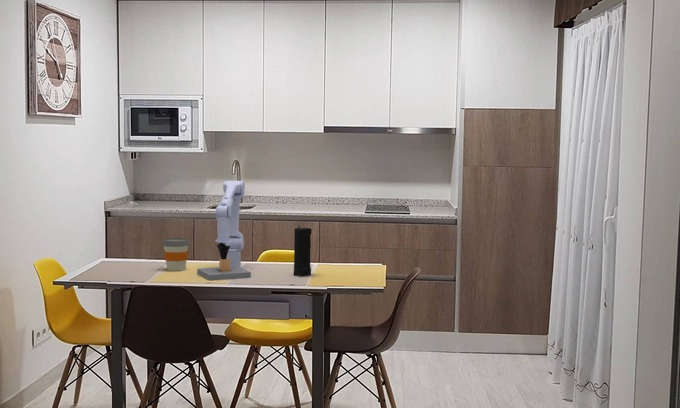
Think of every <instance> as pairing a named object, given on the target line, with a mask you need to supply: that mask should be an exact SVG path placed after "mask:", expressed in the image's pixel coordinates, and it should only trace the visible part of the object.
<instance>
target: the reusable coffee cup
mask: <svg viewBox="0 0 680 408" xmlns="http://www.w3.org/2000/svg"><path fill="white" fill-rule="evenodd" d="M162 244H163V245H162V246H163V249H164V250H163V255H164V261H165V264H166V271H169V272H183V271H185V270H186V269H187V261H188V257H189V245H190V243H189V238H185V237H171V238H165V239H163V243H162Z"/></svg>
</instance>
